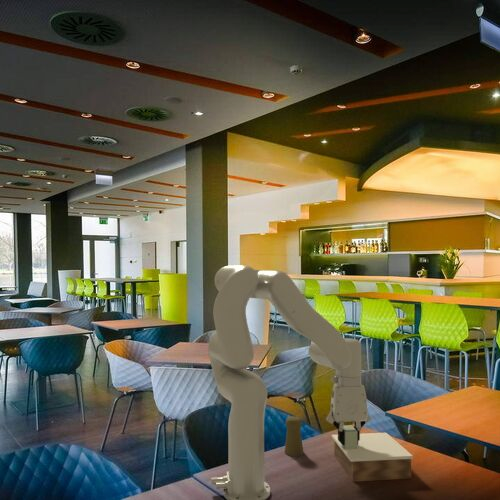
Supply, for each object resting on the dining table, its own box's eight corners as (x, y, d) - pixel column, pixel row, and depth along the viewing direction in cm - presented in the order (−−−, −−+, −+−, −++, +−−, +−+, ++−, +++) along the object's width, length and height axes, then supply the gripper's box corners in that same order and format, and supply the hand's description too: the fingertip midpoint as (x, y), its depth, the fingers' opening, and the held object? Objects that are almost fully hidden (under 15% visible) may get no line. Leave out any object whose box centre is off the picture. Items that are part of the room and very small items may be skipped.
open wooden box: (353, 481, 124) (352, 461, 124) (334, 456, 141) (334, 438, 141) (411, 478, 126) (411, 458, 126) (386, 453, 143) (385, 435, 143)
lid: (350, 461, 124) (350, 440, 124) (331, 437, 142) (331, 418, 142) (412, 458, 126) (412, 437, 126) (386, 435, 144) (385, 416, 144)
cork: (303, 448, 147) (303, 414, 147) (303, 456, 141) (303, 421, 141) (284, 448, 147) (284, 414, 148) (284, 455, 141) (284, 420, 142)
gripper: (325, 384, 129) (325, 449, 128) (380, 383, 131) (380, 447, 130) (318, 378, 136) (318, 439, 136) (370, 377, 138) (370, 437, 138)
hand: (348, 442), depth 133 cm, fingers closed on lid, 3 cm apart
